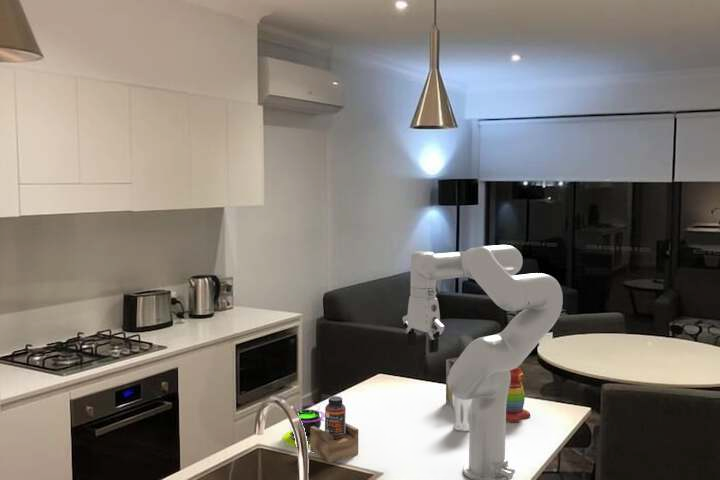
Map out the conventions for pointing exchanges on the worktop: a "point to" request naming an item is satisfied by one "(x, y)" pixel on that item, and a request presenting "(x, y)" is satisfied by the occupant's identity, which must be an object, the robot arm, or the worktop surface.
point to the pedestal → (334, 444)
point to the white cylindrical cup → (461, 414)
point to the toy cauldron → (305, 424)
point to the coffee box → (448, 393)
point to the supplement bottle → (335, 417)
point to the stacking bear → (515, 398)
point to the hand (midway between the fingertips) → (422, 348)
